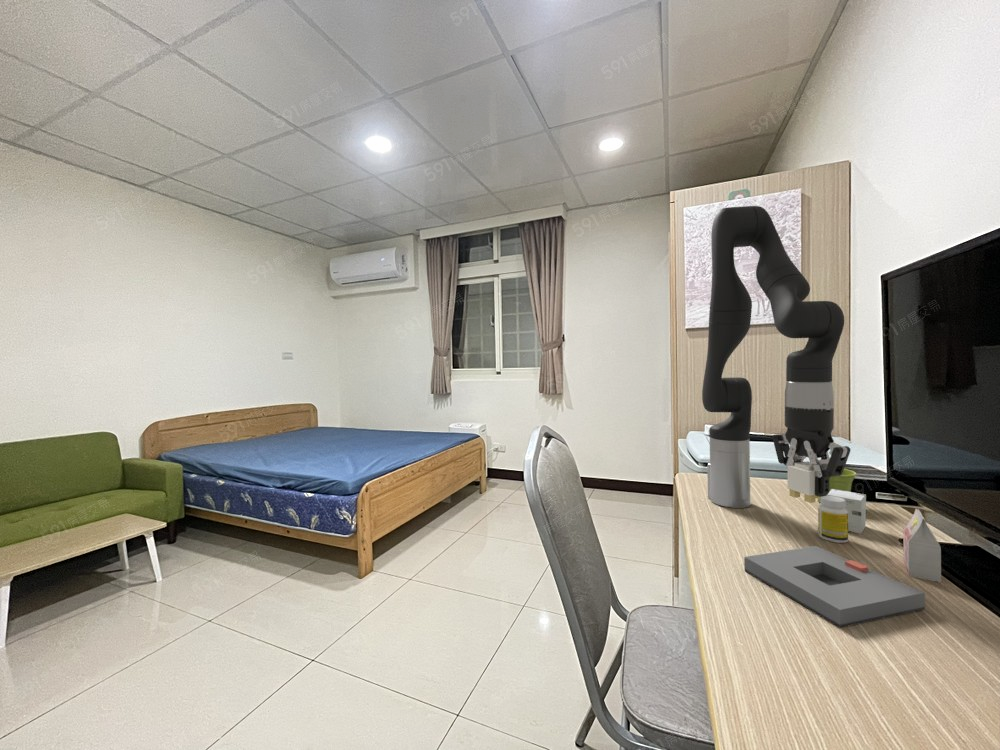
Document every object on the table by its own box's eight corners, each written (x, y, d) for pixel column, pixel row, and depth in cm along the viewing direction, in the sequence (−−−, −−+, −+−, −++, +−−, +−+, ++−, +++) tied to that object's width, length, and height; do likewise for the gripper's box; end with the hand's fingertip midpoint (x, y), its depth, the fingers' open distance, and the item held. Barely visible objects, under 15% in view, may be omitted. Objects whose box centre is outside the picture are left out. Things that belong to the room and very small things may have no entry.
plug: (787, 495, 79) (787, 462, 79) (806, 493, 80) (806, 459, 80) (809, 503, 75) (809, 467, 75) (829, 500, 76) (829, 465, 76)
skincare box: (825, 526, 89) (825, 493, 89) (831, 519, 93) (831, 488, 93) (862, 534, 84) (862, 500, 84) (866, 526, 88) (866, 493, 88)
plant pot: (802, 502, 104) (802, 469, 104) (818, 495, 109) (818, 464, 109) (847, 512, 96) (847, 477, 96) (862, 505, 101) (862, 471, 101)
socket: (744, 570, 70) (744, 553, 70) (816, 559, 74) (815, 542, 74) (840, 627, 55) (839, 605, 55) (924, 609, 58) (924, 588, 58)
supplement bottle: (854, 544, 80) (853, 502, 79) (827, 542, 81) (826, 501, 80) (838, 534, 84) (838, 495, 84) (813, 533, 85) (813, 494, 85)
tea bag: (933, 566, 70) (932, 510, 70) (941, 582, 65) (940, 522, 65) (903, 560, 73) (903, 506, 73) (909, 575, 68) (908, 517, 67)
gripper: (760, 402, 83) (760, 482, 84) (831, 410, 69) (831, 506, 70) (789, 400, 85) (789, 479, 85) (864, 407, 71) (863, 502, 71)
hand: (808, 491), depth 77 cm, fingers closed on plug, 4 cm apart
